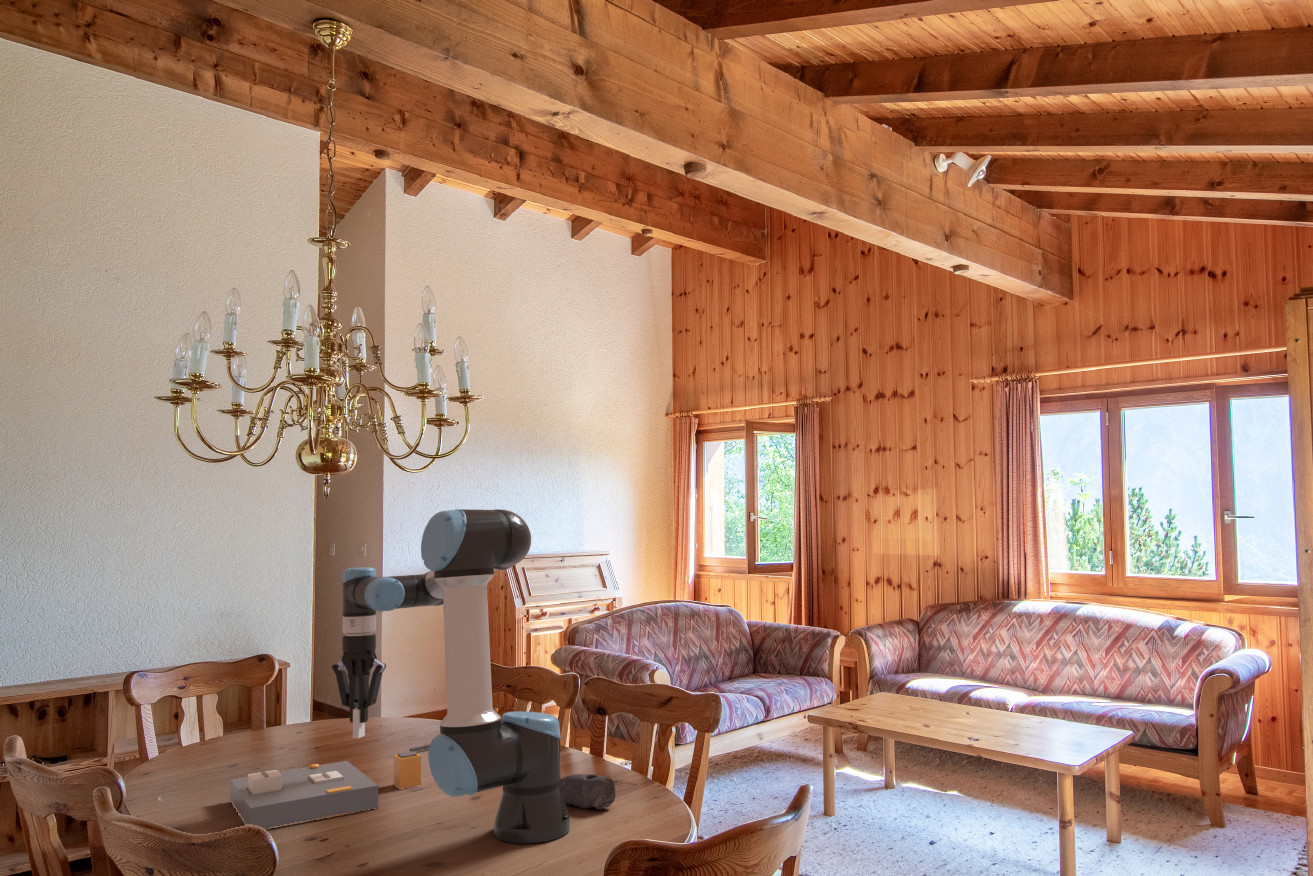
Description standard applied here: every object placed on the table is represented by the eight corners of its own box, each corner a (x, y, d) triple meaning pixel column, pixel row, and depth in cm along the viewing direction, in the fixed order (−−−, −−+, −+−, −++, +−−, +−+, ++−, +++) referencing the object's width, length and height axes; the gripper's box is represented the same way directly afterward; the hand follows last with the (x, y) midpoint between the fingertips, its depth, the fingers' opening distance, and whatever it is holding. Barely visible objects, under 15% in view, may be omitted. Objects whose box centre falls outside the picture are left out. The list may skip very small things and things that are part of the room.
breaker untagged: (281, 799, 198) (282, 774, 198) (252, 804, 194) (252, 779, 195) (276, 792, 203) (276, 768, 203) (247, 797, 199) (247, 773, 200)
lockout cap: (420, 786, 216) (420, 754, 216) (400, 789, 213) (400, 757, 214) (414, 781, 220) (414, 750, 221) (393, 785, 217) (393, 753, 218)
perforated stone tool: (549, 804, 199) (548, 772, 200) (564, 798, 204) (564, 766, 204) (603, 815, 191) (602, 781, 192) (618, 808, 195) (617, 775, 196)
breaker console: (378, 808, 199) (378, 782, 199) (249, 833, 185) (250, 805, 185) (346, 782, 220) (347, 758, 221) (230, 802, 206) (230, 776, 207)
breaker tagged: (342, 799, 204) (343, 775, 205) (315, 804, 201) (315, 780, 202) (336, 793, 209) (336, 769, 210) (309, 797, 206) (309, 774, 207)
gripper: (325, 635, 210) (324, 740, 208) (376, 635, 208) (375, 741, 205) (343, 632, 218) (342, 732, 216) (392, 631, 215) (392, 733, 213)
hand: (358, 736), depth 210 cm, fingers closed
